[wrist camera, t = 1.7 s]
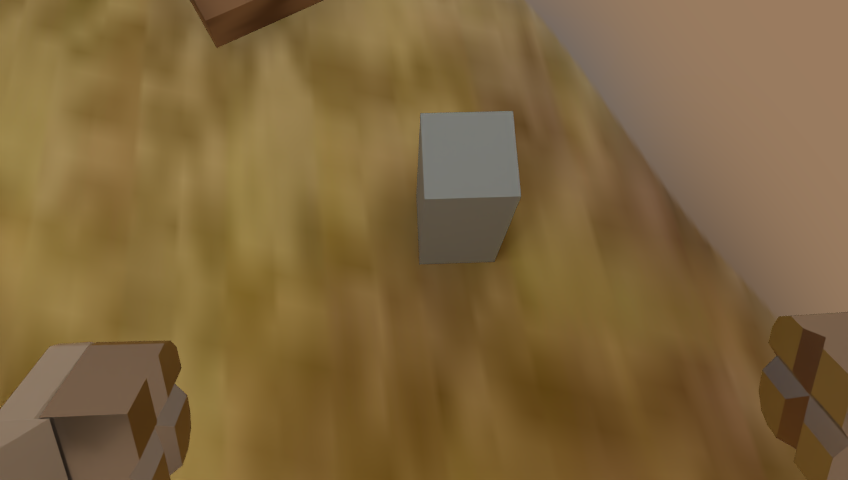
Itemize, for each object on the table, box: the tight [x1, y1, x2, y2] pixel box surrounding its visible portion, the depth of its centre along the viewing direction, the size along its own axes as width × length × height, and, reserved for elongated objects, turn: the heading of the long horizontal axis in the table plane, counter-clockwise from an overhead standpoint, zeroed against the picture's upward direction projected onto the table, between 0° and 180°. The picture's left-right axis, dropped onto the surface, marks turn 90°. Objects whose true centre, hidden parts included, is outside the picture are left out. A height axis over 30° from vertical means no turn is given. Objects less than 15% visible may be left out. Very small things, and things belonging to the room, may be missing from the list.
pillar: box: [416, 111, 521, 264], centre depth 34 cm, size 4×4×9 cm
